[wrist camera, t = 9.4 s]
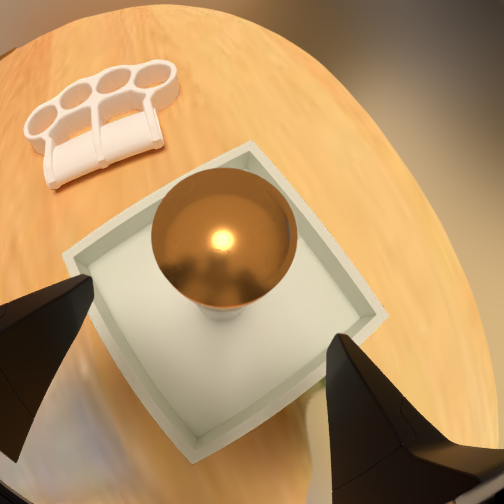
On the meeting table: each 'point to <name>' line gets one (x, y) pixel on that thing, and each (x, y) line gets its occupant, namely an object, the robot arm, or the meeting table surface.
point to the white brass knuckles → (102, 119)
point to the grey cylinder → (224, 239)
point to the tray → (220, 332)
